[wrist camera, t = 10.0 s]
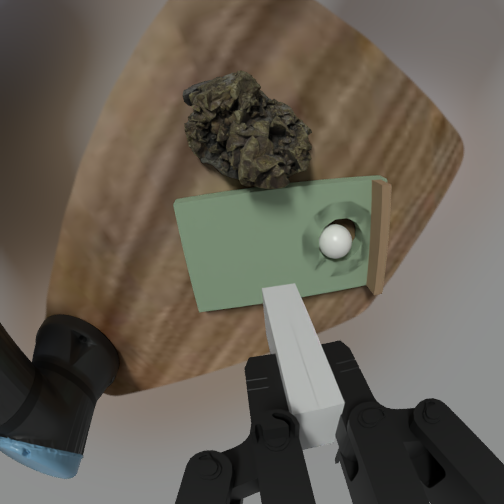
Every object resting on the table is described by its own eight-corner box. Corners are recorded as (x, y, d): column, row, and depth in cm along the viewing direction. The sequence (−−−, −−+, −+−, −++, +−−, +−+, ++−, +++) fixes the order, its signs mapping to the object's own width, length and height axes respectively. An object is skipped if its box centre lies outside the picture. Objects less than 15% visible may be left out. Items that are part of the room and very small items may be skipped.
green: (200, 302, 37) (198, 324, 33) (176, 199, 31) (169, 211, 27) (373, 274, 38) (387, 292, 34) (378, 175, 32) (398, 184, 28)
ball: (312, 254, 35) (330, 268, 32) (311, 223, 33) (330, 235, 30) (339, 246, 36) (357, 259, 33) (339, 217, 34) (359, 227, 31)
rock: (284, 205, 33) (346, 149, 27) (223, 226, 26) (297, 148, 19) (224, 126, 35) (270, 68, 28) (159, 128, 28) (205, 50, 21)
